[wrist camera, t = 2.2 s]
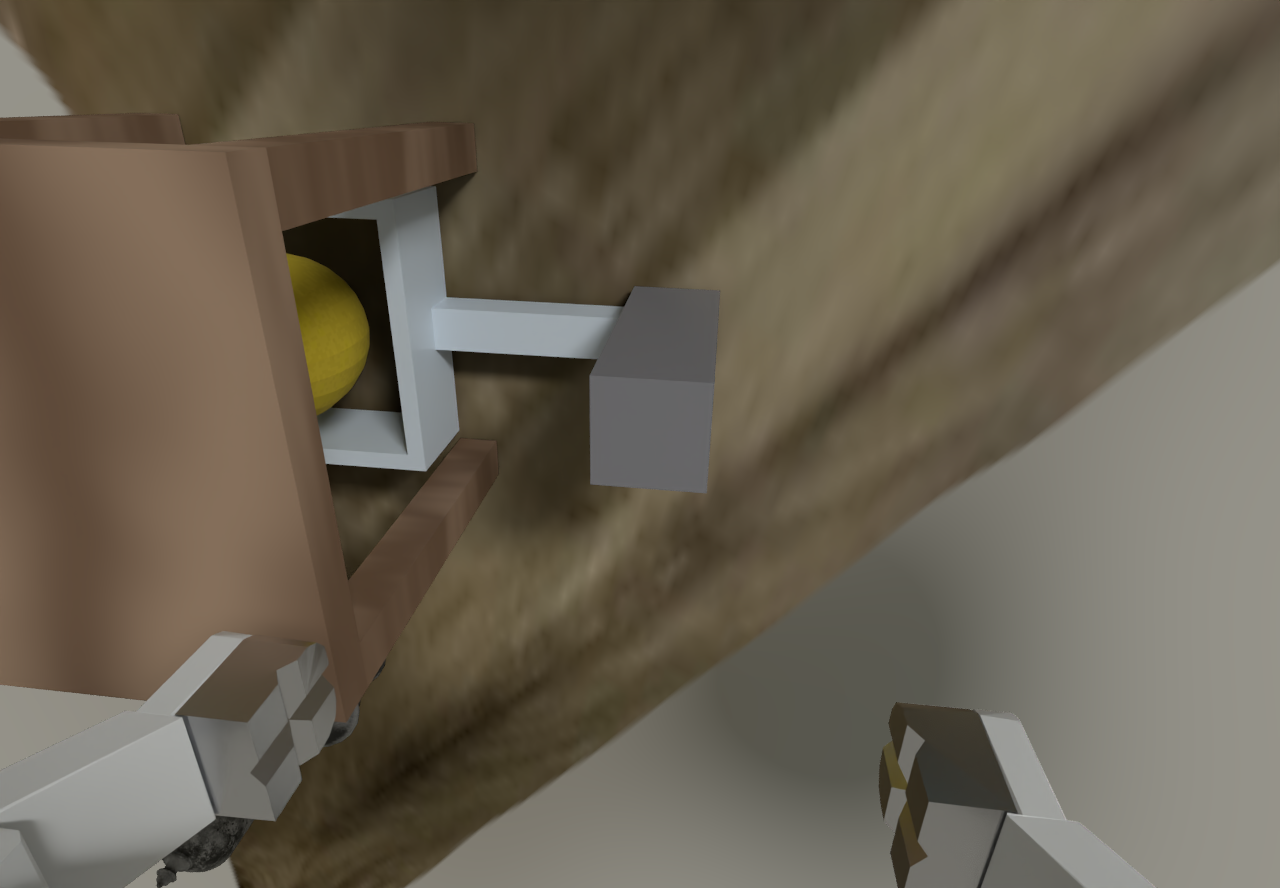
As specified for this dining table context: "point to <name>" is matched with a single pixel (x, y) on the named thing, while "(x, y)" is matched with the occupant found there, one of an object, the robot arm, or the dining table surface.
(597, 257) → the dining table surface
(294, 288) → the lemon
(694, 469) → the slider
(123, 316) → the tunnel
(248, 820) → the gray stone ornament
